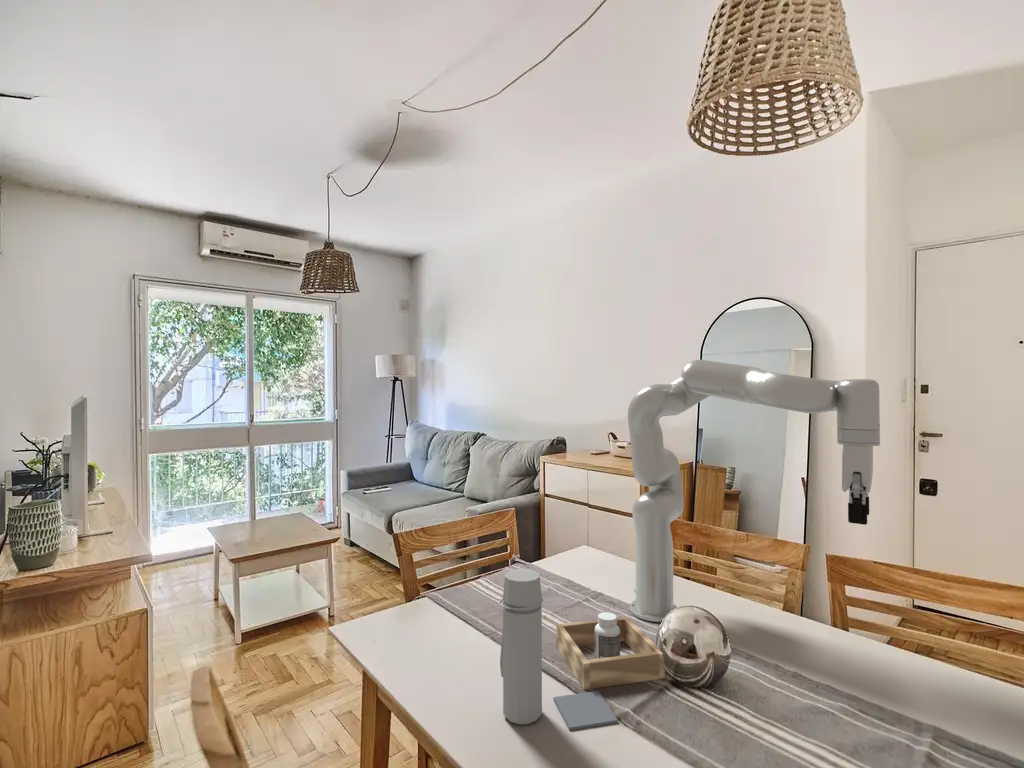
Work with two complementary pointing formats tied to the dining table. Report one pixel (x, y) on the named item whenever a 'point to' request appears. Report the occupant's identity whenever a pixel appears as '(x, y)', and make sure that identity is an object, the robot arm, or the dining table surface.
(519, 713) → the water bottle
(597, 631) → the pill bottle
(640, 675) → the oak crate
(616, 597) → the dining table surface
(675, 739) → the dining table surface
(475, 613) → the dining table surface
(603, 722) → the rubber mat
